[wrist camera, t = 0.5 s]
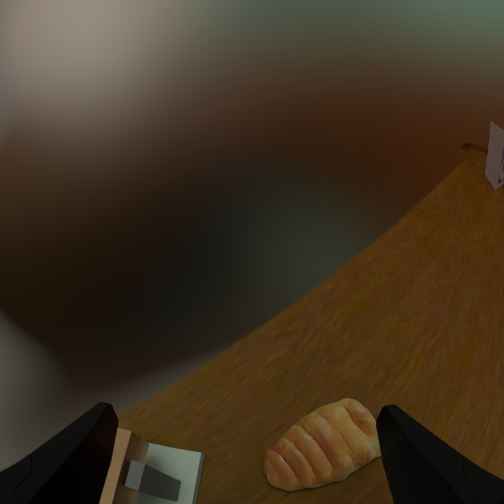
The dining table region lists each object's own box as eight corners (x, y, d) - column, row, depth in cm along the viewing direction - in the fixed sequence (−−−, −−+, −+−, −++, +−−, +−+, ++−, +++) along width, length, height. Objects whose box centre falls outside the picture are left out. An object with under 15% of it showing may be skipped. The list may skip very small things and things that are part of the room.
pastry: (286, 510, 15) (284, 508, 13) (249, 447, 20) (242, 434, 18) (387, 451, 17) (400, 438, 15) (344, 398, 23) (350, 378, 21)
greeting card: (498, 192, 48) (507, 132, 39) (474, 180, 54) (480, 122, 45) (508, 182, 51) (516, 130, 43) (487, 172, 57) (492, 121, 48)
